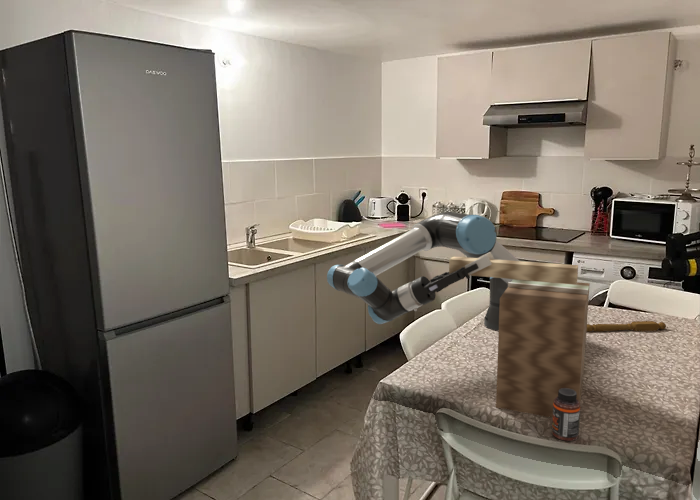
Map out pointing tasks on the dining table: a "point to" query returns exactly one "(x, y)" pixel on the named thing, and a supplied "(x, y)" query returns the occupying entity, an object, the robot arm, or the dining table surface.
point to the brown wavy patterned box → (540, 344)
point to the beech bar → (521, 270)
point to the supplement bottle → (566, 415)
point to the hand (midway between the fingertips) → (490, 258)
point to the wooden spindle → (627, 326)
